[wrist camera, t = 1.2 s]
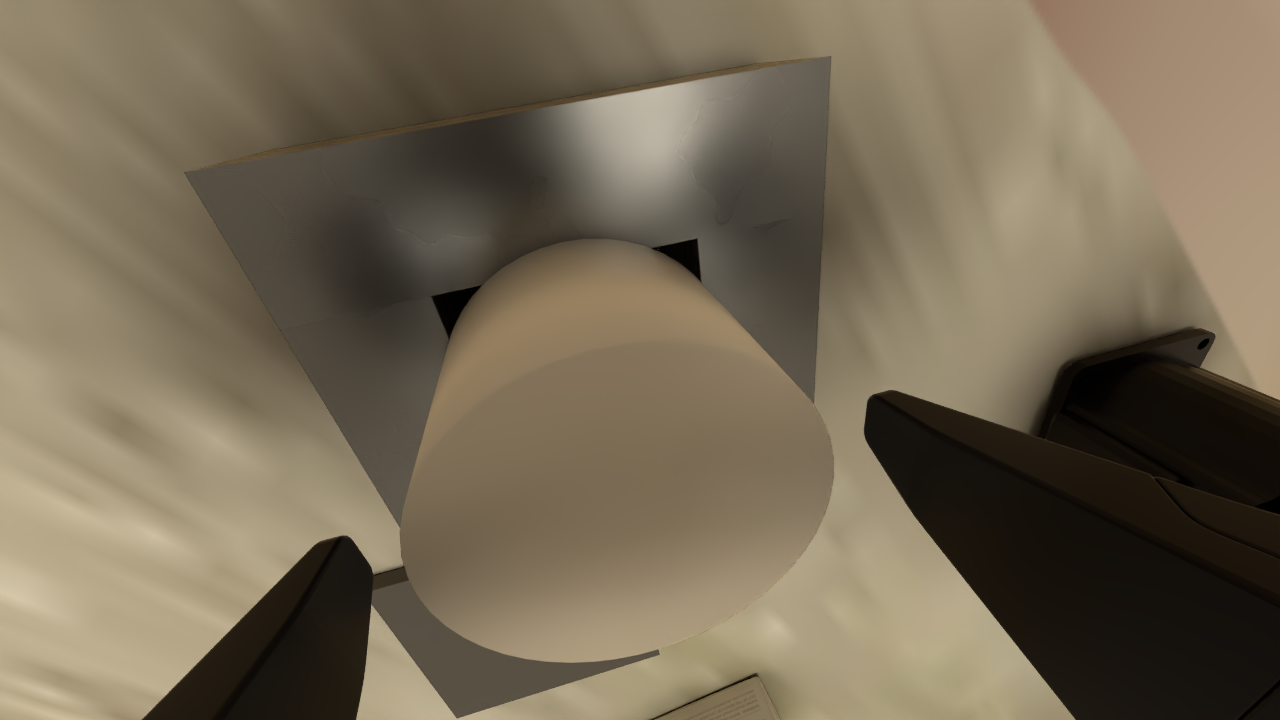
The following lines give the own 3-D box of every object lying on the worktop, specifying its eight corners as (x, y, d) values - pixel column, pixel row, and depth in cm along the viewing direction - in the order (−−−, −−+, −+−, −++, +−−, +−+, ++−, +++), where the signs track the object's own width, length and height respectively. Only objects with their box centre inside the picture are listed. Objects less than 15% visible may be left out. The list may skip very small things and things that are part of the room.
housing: (760, 62, 11) (831, 56, 9) (765, 425, 17) (809, 485, 14) (267, 150, 10) (184, 172, 8) (451, 509, 16) (438, 590, 13)
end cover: (679, 184, 12) (849, 288, 6) (700, 391, 15) (823, 597, 9) (420, 237, 11) (301, 418, 5) (500, 442, 15) (486, 703, 8)
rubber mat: (624, 506, 17) (627, 519, 17) (656, 641, 22) (659, 654, 22) (368, 577, 16) (363, 593, 16) (458, 702, 21) (456, 718, 21)
